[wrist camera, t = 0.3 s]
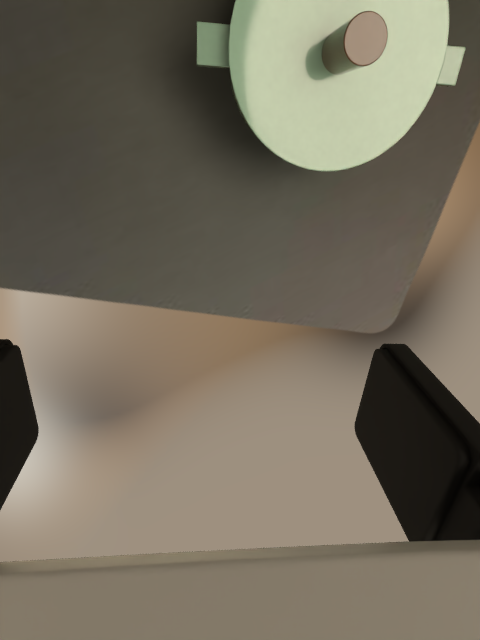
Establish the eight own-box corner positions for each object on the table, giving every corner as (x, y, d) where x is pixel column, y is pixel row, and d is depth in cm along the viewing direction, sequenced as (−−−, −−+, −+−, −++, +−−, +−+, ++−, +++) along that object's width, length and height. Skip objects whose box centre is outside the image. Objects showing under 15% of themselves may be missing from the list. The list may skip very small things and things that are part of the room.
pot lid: (233, -111, 22) (242, -180, 17) (470, -79, 24) (542, -134, 19) (223, 164, 29) (227, 173, 24) (407, 174, 31) (448, 184, 26)
